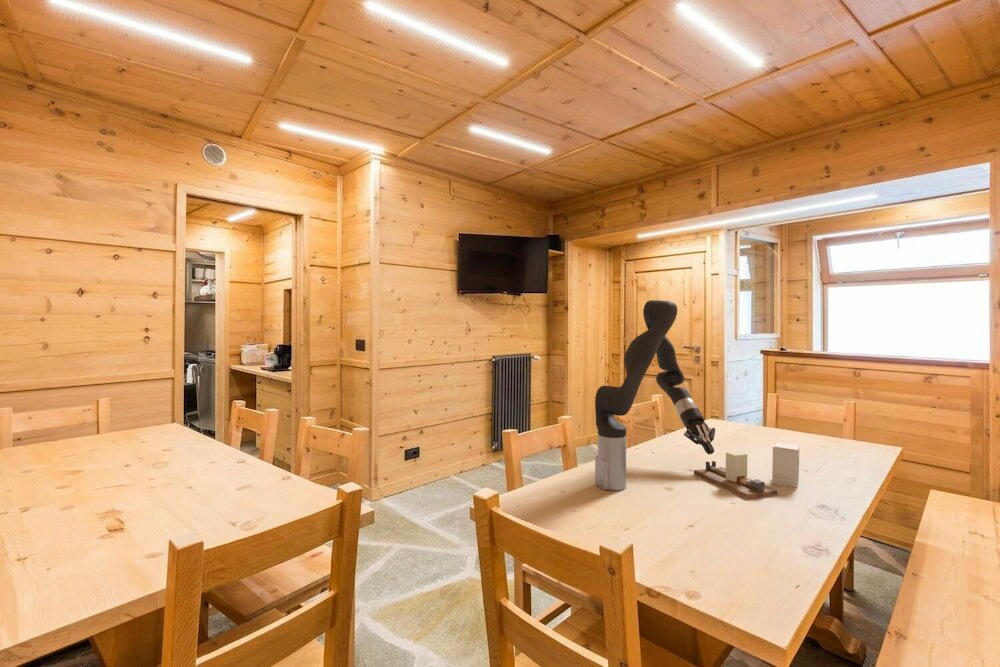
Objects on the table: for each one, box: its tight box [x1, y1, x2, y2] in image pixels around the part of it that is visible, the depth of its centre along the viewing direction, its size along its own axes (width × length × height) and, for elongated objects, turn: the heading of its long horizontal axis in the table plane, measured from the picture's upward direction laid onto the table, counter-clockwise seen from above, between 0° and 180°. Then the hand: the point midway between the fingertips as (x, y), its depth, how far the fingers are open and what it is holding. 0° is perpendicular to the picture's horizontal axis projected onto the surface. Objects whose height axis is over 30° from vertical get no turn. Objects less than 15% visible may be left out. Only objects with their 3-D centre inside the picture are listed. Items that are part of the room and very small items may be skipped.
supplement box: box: [771, 442, 800, 488], centre depth 157 cm, size 7×7×13 cm
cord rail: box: [693, 460, 779, 500], centre depth 156 cm, size 12×24×4 cm, turn 16°
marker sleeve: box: [725, 450, 748, 482], centre depth 154 cm, size 5×4×9 cm
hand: (711, 453), depth 166 cm, fingers closed
